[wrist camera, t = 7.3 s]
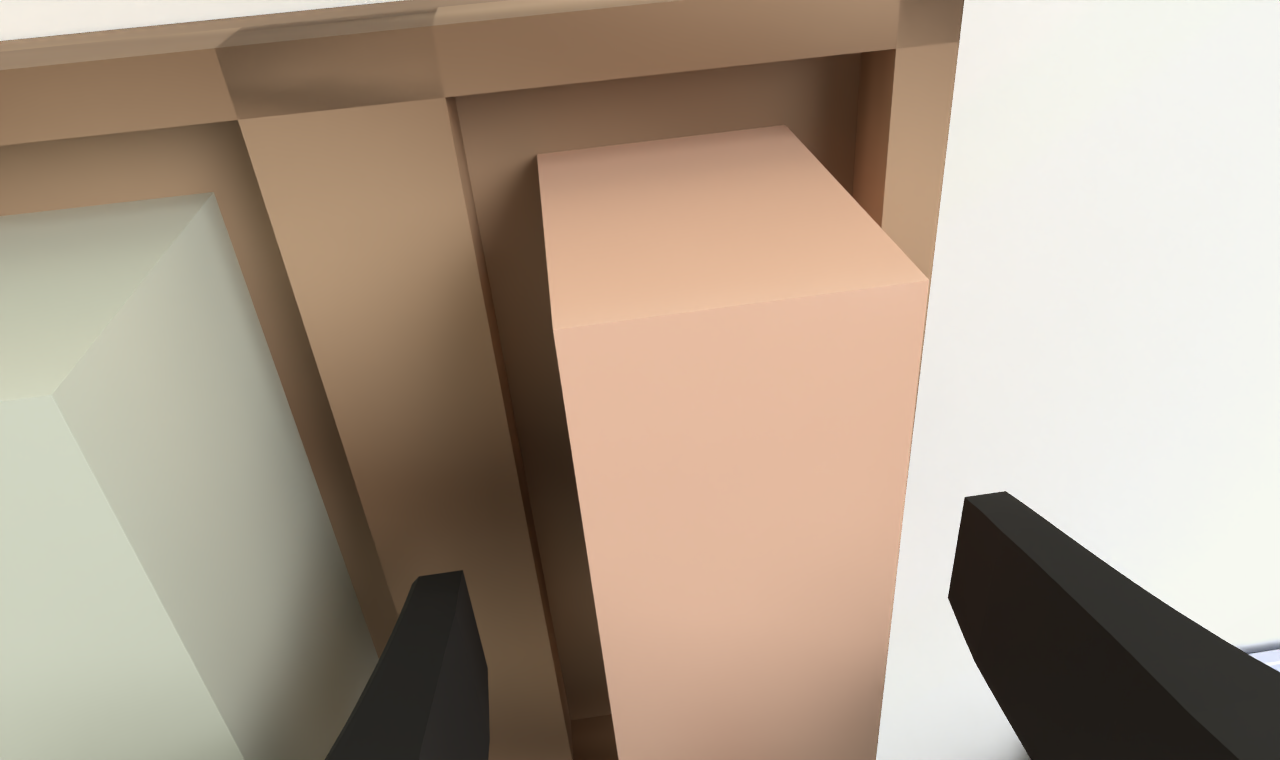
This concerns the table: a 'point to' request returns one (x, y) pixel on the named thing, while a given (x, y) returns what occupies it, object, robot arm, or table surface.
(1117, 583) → the robot arm
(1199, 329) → the table surface
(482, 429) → the rack
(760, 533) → the peach rectangular block
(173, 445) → the grey-green block
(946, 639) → the table surface
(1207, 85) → the table surface
